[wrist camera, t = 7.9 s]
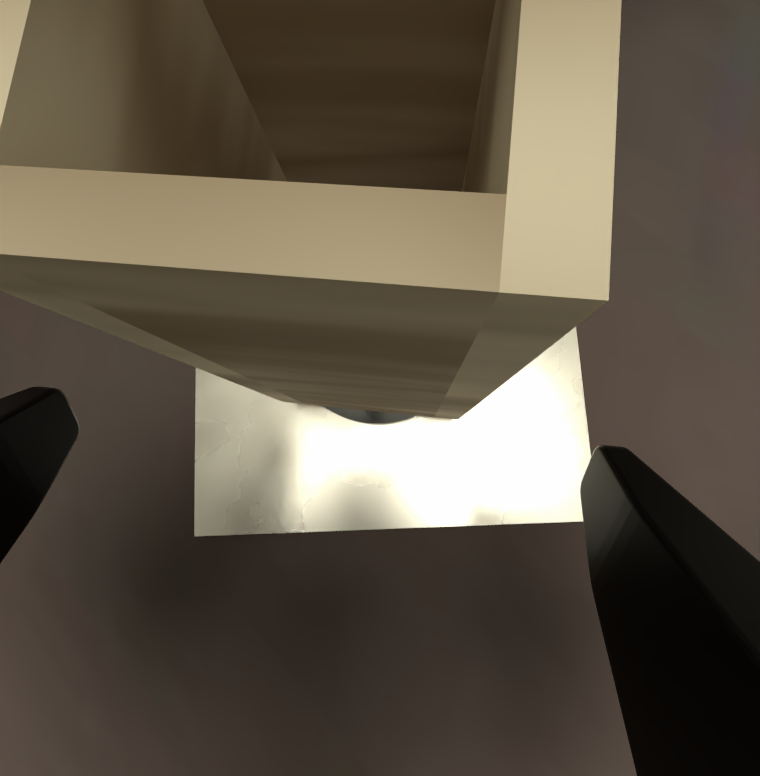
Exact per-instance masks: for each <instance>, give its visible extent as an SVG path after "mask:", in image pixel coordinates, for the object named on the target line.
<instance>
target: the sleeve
mask: <svg viewBox="0 0 760 776" xmlns="http://www.w3.org/2000/svg"><path fill="white" fill-rule="evenodd" d="M620 23H621V0H0V291H3V292H5V293H8V294H11V295H13V296H16V297H18V298H21V299H23V300H26V301H28V302H31V303H33V304H36V305H38V306H41V307H43V308H46V309H49V310H51V311H54V312H56V313H59V314H61V315H64V316H66V317H69V318H71V319H74V320H76V321H79V322H82V323H84V324H87V325H89V326H92V327H94V328H97V329H99V330H102V331H104V332H107V333H109V334H112V335H114V336H117V337H120V338H122V339H125V340H127V341H130V342H132V343H135V344H137V345H140V346H142V347H145V348H147V349H150V350H152V351H155V352H158V353H160V354H163V355H165V356H168V357H170V358H173V359H175V360H178V361H180V362H183V363H185V364H188V365H190V366H193V367H196V368H198V369H201V370H203V371H206V372H208V373H211V374H213V375H216V376H218V377H221V378H223V379H226V380H228V381H231V382H234V383H236V384H239V385H241V386H244V387H246V388H249V389H251V390H254V391H256V392H259V393H261V394H264V395H266V396H269V397H272V398H274V399H277V400H279V401H282V402H289V403H298V404H308V405H318V406H328V407H338V408H348V409H357V410H367V411H377V412H387V413H397V414H406V415H416V416H426V417H436V418H446V419H456V420H459V419H460V418H461V417H462V416H464V415H465V414H466V413H467V412H469V411H470V410H471V409H473V408H474V407H475V406H476V405H478V404H479V403H480V402H481V401H483V400H484V399H485V398H486V397H488V396H489V395H490V394H491V393H493V392H494V391H495V390H496V389H498V388H499V387H500V386H502V385H503V384H504V383H505V382H507V381H508V380H509V379H510V378H512V377H513V376H514V375H515V374H517V373H518V372H519V371H520V370H522V369H523V368H524V367H525V366H527V365H528V364H529V363H531V362H532V361H533V360H534V359H536V358H537V357H538V356H539V355H541V354H542V353H543V352H544V351H546V350H547V349H548V348H549V347H551V346H552V345H553V344H554V343H556V342H557V341H558V340H560V339H561V338H562V337H563V336H565V335H566V334H567V333H568V332H570V331H571V330H572V329H573V328H575V327H576V326H577V325H578V324H580V323H581V322H582V321H583V320H585V319H586V318H587V317H589V316H590V315H591V314H592V313H594V312H595V311H596V310H597V309H599V308H600V307H601V306H602V305H604V304H605V303H606V302H607V301H609V278H610V255H611V232H612V209H613V185H614V162H615V139H616V116H617V93H618V69H619V46H620Z"/></svg>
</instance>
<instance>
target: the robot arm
mask: <svg viewBox="0 0 760 776" xmlns="http://www.w3.org/2000/svg"><path fill="white" fill-rule="evenodd" d="M79 431H80V427H79V423H78V421H77V419H76V416H75V414H74V412H73V410H72V408H71V406H70V404H69V401H68V399H67V397H66V395H65V394H64V393H63V392H62V391H61V390H59V389H56V388H48V387H31V388H28V389H26V390H23V391H20V392H17V393H15V394H12V395H9V396H6V397H4V398H1V399H0V563H1V562H2V560H3V559H4V558H5V556H6V555H7V553H8V552H9V550H10V549H11V547H12V546H13V545H14V543H15V542H16V540H17V539H18V537H19V536H20V535H21V533H22V532H23V530H24V529H25V527H26V526H27V525H28V523H29V522H30V520H31V519H32V517H33V516H34V514H35V512H36V511H37V509H38V507H39V506H40V504H41V502H42V501H43V499H44V497H45V495H46V494H47V492H48V490H49V488H50V487H51V485H52V483H53V481H54V480H55V478H56V476H57V474H58V472H59V471H60V469H61V467H62V465H63V464H64V462H65V460H66V458H67V457H68V455H69V453H70V451H71V449H72V448H73V446H74V444H75V442H76V441H77V439H78V436H79ZM580 498H581V506H582V514H583V522H584V531H585V539H586V547H587V555H588V564H589V571H590V578H591V585H592V590H593V594H594V599H595V603H596V608H597V612H598V616H599V620H600V624H601V628H602V632H603V637H604V641H605V645H606V649H607V653H608V657H609V661H610V665H611V670H612V674H613V678H614V682H615V686H616V690H617V694H618V699H619V703H620V707H621V711H622V715H623V719H624V723H625V728H626V732H627V736H628V740H629V744H630V748H631V752H632V757H633V761H634V765H635V769H636V773H637V776H760V561H758V560H757V559H756V558H755V557H754V556H753V555H751V554H750V553H749V552H748V551H747V550H745V549H744V548H743V547H742V546H741V545H740V544H738V543H737V542H736V541H735V540H734V539H733V538H731V537H730V536H729V535H728V534H727V533H726V532H724V531H723V530H722V529H721V528H720V527H719V526H717V525H716V524H715V523H714V522H713V521H712V520H710V519H709V518H708V517H707V516H706V515H705V514H703V513H702V512H701V511H700V510H699V509H698V508H696V507H695V506H694V505H693V504H692V503H691V502H689V501H688V500H687V499H686V498H685V497H684V496H682V495H681V494H680V493H679V492H678V491H677V490H675V489H674V488H673V487H672V486H671V485H670V484H668V483H667V482H666V481H665V480H664V479H663V478H661V477H660V476H659V475H658V474H657V473H655V472H654V471H653V470H652V469H651V468H650V467H648V466H647V465H646V464H645V463H644V462H643V461H641V460H640V459H639V458H638V457H637V456H636V455H634V454H633V453H632V452H631V451H630V450H628V449H627V448H624V447H617V446H608V445H600V446H598V447H596V449H595V450H594V452H593V454H592V456H591V459H590V461H589V464H588V466H587V469H586V471H585V474H584V476H583V479H582V481H581V486H580Z"/></svg>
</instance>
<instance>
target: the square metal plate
mask: <svg viewBox="0 0 760 776" xmlns="http://www.w3.org/2000/svg"><path fill="white" fill-rule="evenodd" d="M590 459H591V454H590V445H589V437H588V428H587V419H586V411H585V402H584V393H583V384H582V376H581V367H580V358H579V350H578V341H577V332H576V327H575V328H573V329H572V330H571V331H570V332H568V333H567V334H566V335H565V336H563V337H562V338H561V339H560V340H558V341H557V342H556V343H554V344H553V345H552V346H551V347H549V348H548V349H547V350H546V351H544V352H543V353H542V354H541V355H539V356H538V357H537V358H536V359H534V360H533V361H532V362H531V363H529V364H528V365H527V366H525V367H524V368H523V369H522V370H520V371H519V372H518V373H517V374H515V375H514V376H513V377H512V378H510V379H509V380H508V381H507V382H505V383H504V384H503V385H502V386H500V387H499V388H498V389H496V390H495V391H494V392H493V393H491V394H490V395H489V396H488V397H486V398H485V399H484V400H483V401H481V402H480V403H479V404H478V405H476V406H475V407H474V408H473V409H471V410H470V411H469V412H467V413H466V414H465V415H464V416H462V417H461V418H460V419H459V420H456V419H446V418H436V417H426V416H416V415H406V414H397V413H387V412H377V411H367V410H357V409H348V408H338V407H328V406H318V405H308V404H298V403H289V402H282V401H279V400H277V399H274V398H272V397H269V396H266V395H264V394H261V393H259V392H256V391H254V390H251V389H249V388H246V387H244V386H241V385H239V384H236V383H234V382H231V381H228V380H226V379H223V378H221V377H218V376H216V375H213V374H211V373H208V372H206V371H203V370H201V369H198V368H196V405H195V508H194V536H218V535H244V534H269V533H295V532H321V531H347V530H373V529H398V528H424V527H450V526H476V525H502V524H527V523H553V522H579V521H583V514H582V506H581V498H580V486H581V481H582V479H583V476H584V474H585V471H586V469H587V466H588V464H589V461H590Z"/></svg>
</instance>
